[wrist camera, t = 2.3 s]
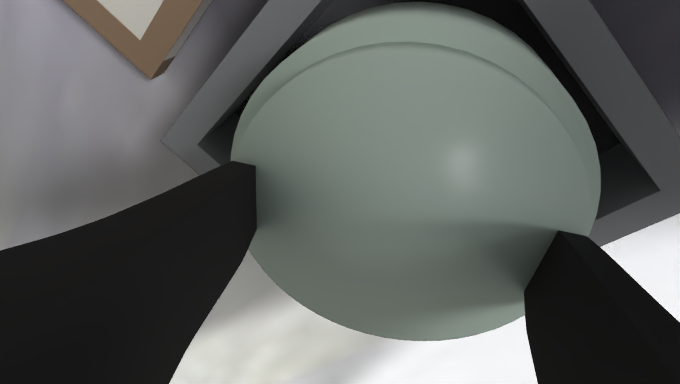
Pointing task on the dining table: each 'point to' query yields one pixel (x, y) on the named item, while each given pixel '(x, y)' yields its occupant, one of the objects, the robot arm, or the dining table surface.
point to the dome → (414, 171)
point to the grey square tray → (564, 38)
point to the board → (143, 27)
